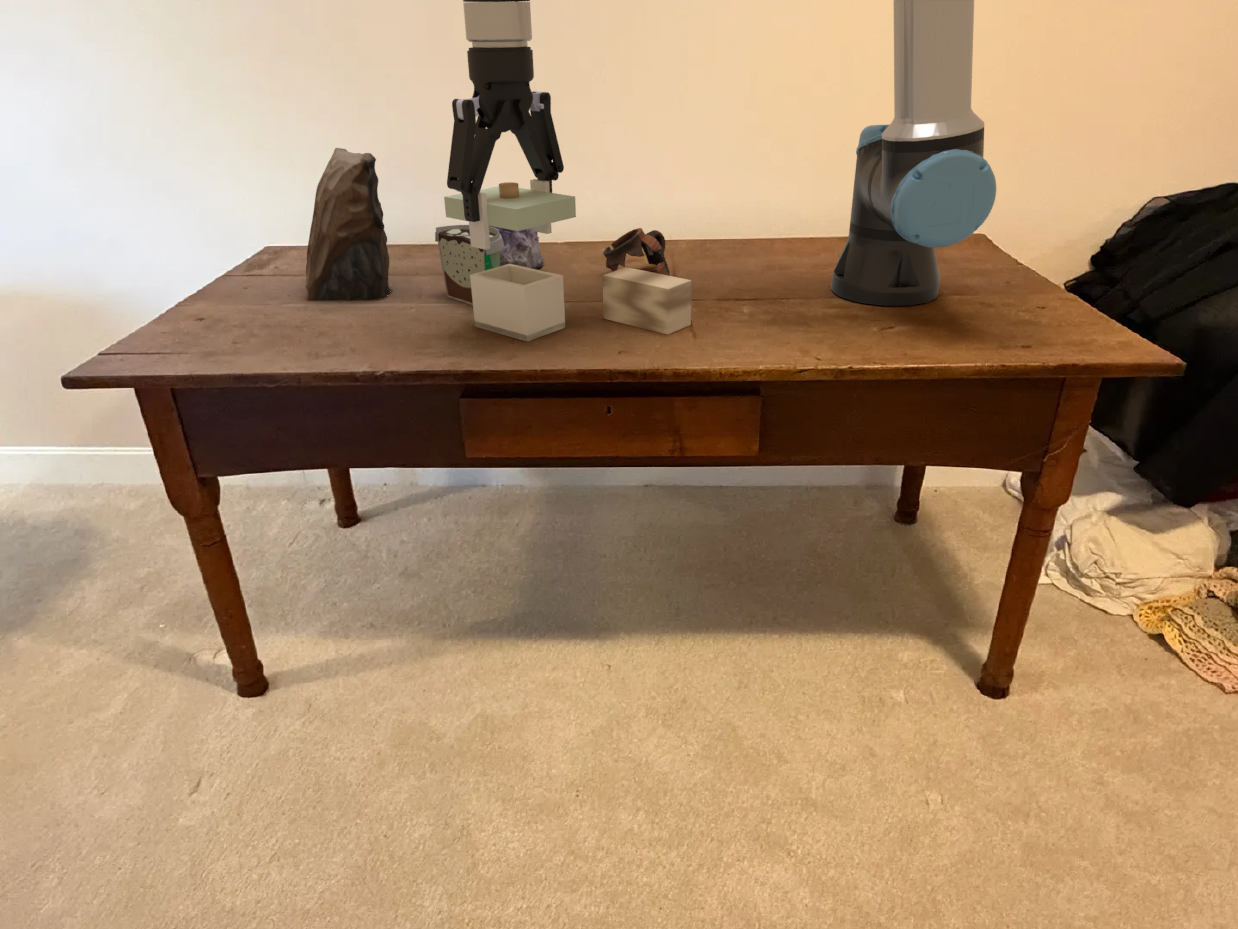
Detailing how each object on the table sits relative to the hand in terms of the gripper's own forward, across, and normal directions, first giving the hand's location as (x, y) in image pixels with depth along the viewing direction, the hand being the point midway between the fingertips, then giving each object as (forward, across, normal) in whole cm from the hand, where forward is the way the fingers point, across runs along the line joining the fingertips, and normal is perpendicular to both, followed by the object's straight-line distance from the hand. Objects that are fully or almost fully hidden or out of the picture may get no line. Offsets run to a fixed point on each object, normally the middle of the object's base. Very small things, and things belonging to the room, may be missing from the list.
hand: (512, 239), depth 109 cm
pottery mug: (+12, -31, -4) cm, 33 cm away
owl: (+12, +4, -33) cm, 35 cm away
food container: (+12, -6, -14) cm, 19 cm away
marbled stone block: (+11, -12, +12) cm, 21 cm away
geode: (+12, -20, -23) cm, 32 cm away
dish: (+12, 0, 0) cm, 12 cm away
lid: (-3, 0, 0) cm, 3 cm away
